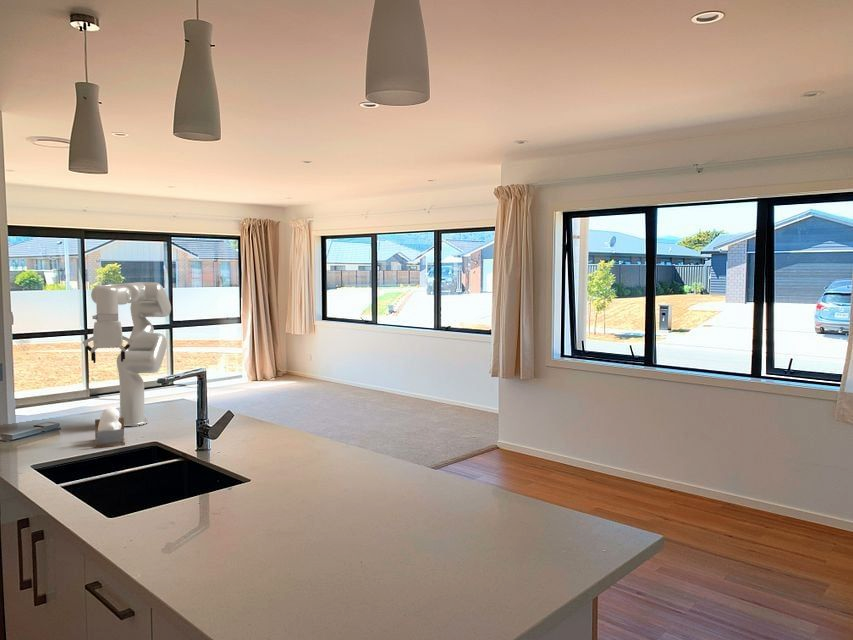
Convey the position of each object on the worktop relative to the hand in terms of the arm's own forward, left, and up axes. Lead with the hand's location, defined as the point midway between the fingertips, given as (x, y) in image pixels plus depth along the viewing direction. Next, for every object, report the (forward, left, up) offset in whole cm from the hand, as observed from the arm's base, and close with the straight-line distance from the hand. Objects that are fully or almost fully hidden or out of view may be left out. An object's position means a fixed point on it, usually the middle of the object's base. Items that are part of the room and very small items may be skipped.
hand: (108, 361), depth 242 cm
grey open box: (+7, 0, -30) cm, 31 cm away
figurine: (+7, 0, -29) cm, 30 cm away
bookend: (+12, 0, -29) cm, 31 cm away
